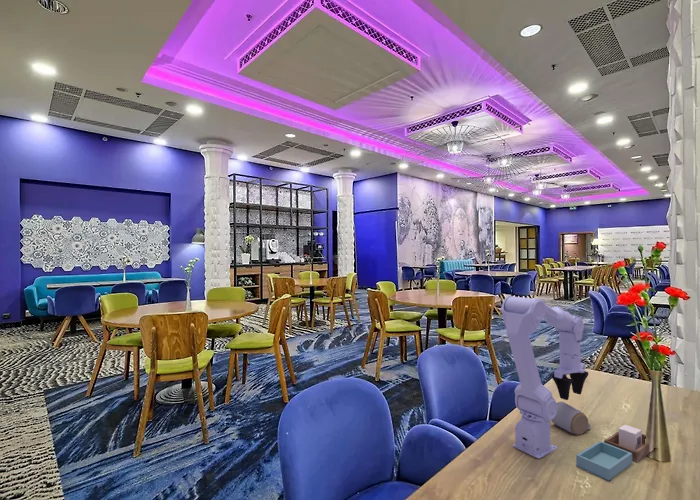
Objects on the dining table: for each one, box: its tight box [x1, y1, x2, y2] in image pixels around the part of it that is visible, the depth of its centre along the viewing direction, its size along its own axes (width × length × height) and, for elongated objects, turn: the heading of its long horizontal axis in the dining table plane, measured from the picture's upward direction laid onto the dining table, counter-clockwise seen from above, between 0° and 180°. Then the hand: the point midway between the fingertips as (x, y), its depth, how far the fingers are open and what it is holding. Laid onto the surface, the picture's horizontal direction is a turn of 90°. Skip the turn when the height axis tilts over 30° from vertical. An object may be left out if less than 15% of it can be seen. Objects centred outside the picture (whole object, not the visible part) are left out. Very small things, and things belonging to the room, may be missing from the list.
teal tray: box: [575, 440, 633, 482], centre depth 97 cm, size 13×8×3 cm, turn 122°
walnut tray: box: [603, 431, 650, 463], centre depth 104 cm, size 13×8×3 cm, turn 122°
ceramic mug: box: [551, 401, 591, 436], centre depth 117 cm, size 11×8×8 cm
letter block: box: [618, 424, 643, 451], centre depth 104 cm, size 4×4×6 cm
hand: (570, 396), depth 117 cm, fingers open, 7 cm apart
